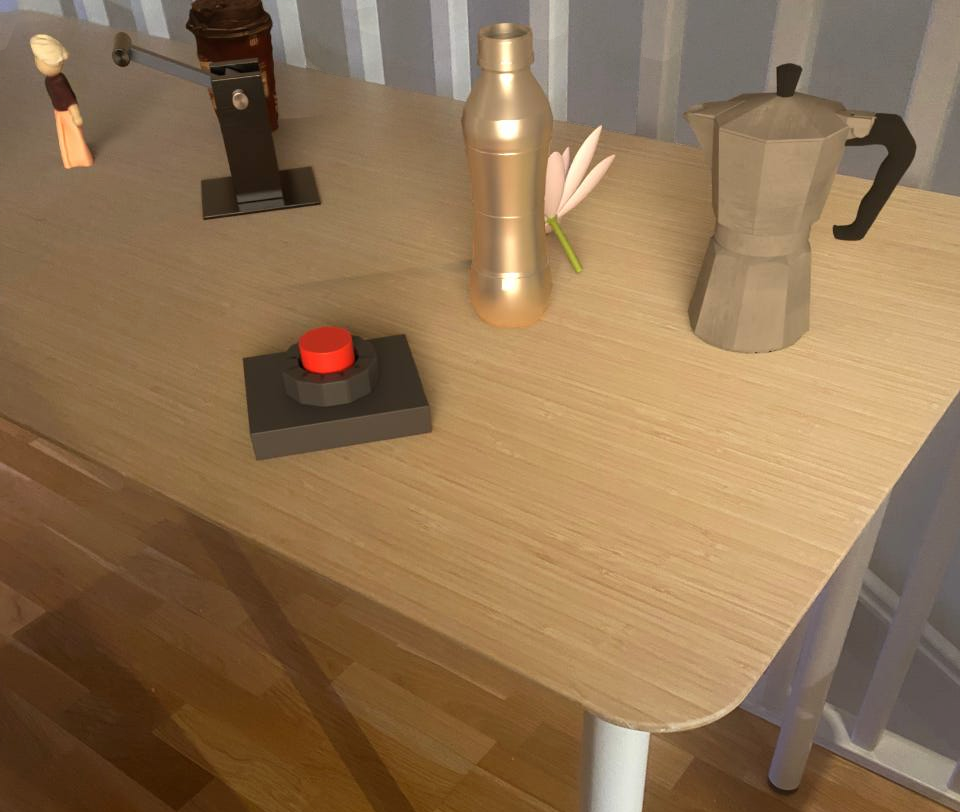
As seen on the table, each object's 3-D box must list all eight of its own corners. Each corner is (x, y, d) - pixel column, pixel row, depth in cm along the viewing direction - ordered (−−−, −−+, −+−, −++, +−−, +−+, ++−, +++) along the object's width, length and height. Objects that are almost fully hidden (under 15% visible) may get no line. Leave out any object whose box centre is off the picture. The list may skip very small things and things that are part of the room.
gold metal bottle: (541, 292, 81) (542, 11, 66) (560, 333, 76) (565, 40, 62) (464, 302, 80) (447, 21, 66) (478, 343, 75) (463, 51, 61)
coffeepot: (646, 339, 75) (669, 78, 62) (679, 284, 81) (706, 35, 68) (855, 375, 70) (927, 101, 57) (874, 313, 76) (943, 52, 63)
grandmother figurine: (51, 167, 105) (5, 31, 95) (84, 156, 106) (42, 22, 97) (85, 186, 100) (40, 47, 91) (119, 175, 102) (78, 37, 93)
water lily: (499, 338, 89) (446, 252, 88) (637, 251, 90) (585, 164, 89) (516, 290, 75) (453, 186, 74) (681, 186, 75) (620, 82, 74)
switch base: (256, 461, 66) (243, 410, 63) (248, 384, 73) (236, 334, 70) (431, 433, 67) (427, 382, 65) (408, 359, 74) (402, 310, 71)
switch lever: (110, 69, 83) (114, 39, 82) (112, 52, 86) (116, 23, 85) (253, 119, 88) (259, 91, 87) (250, 100, 91) (256, 73, 90)
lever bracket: (205, 229, 92) (171, 91, 83) (203, 192, 98) (171, 60, 90) (322, 214, 93) (300, 76, 85) (313, 178, 99) (292, 47, 91)
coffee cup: (221, 158, 104) (190, 18, 95) (203, 133, 110) (172, -2, 100) (300, 142, 106) (277, 3, 97) (279, 119, 112) (255, -15, 102)
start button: (305, 380, 66) (300, 356, 65) (300, 353, 69) (296, 330, 67) (358, 372, 66) (354, 348, 65) (351, 345, 69) (348, 322, 68)
